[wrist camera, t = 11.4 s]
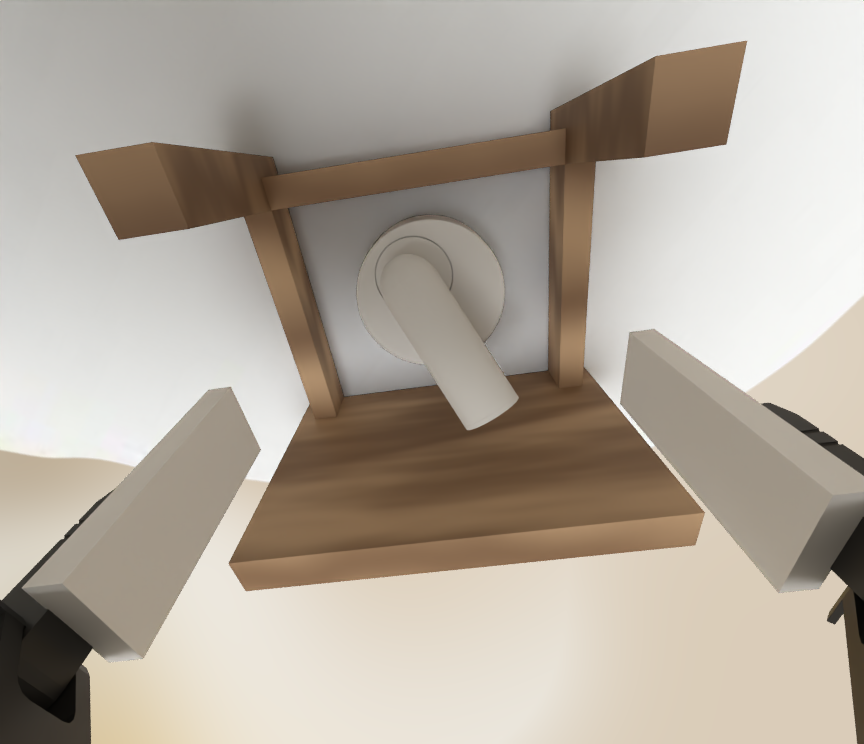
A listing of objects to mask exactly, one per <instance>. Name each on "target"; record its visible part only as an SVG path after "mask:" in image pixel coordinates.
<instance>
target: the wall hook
mask: <svg viewBox="0 0 864 744" xmlns="http://www.w3.org/2000/svg"><path fill="white" fill-rule="evenodd" d="M356 295H357V305H358V310H359V313H360V316H361V319H362V321H363V323H364V326H365V327H366V329H367V331H368V332H369V334H370V335H371V336H372V338H373V339H374V340H375V341H376V342H377V343H378V344H379V345H380V346H381V347H382V348H383V349H385V350H386V351H387V352H389V353H390V354H392V355H394V356H396V357H398V358H400V359H402V360H405V361H408V362H411V363H415V364H422V365H425V366H426V367H427V369H428V371H429V372H430V374H431V375H432V377H433V378H434V380H435V381H436V383H437V385H438V386H439V388H440V389H441V391H442V392H443V394H444V395H445V397H446V399H447V400H448V402H449V403H450V405H451V406H452V408H453V409H454V411H455V413H456V414H457V416H458V417H459V419H460V420H461V422H462V423H463V425H464V427H465V428H466V430H472V429H475V428H478V427H480V426H482V425H484V424H486V423H488V422H490V421H491V420H493V419H495V418H496V417H498V416H499V415H501V414H502V413H504V412H505V411H506V410H508V409H509V408H510V407H511V406H513V405H514V404H515V403H516V402H517V400H518V398H519V397H518V395H517V394H516V392H515V391H514V389H513V388H512V386H511V385H510V383H509V382H508V380H507V378H506V377H505V375H504V374H503V372H502V371H501V369H500V368H499V366H498V364H497V363H496V361H495V360H494V358H493V357H492V355H491V354H490V352H489V350H488V349H487V347H486V346H485V344H484V342H485V341H486V340H487V339H488V338H489V336H490V335H491V334H492V332H493V331H494V329H495V327H496V326H497V323H498V321H499V319H500V316H501V313H502V310H503V306H504V299H505V285H504V278H503V274H502V270H501V267H500V265H499V262H498V260H497V258H496V256H495V255H494V253H493V252H492V250H491V249H490V247H489V246H488V245H487V244H486V243H485V242H484V240H483V239H482V238H481V237H480V236H479V235H478V234H477V233H476V232H475V231H474V230H472V229H471V228H470V227H468V226H467V225H465V224H464V223H462V222H460V221H457V220H455V219H452V218H449V217H445V216H440V215H420V216H415V217H411V218H408V219H405V220H403V221H401V222H399V223H397V224H395V225H394V226H392V227H391V228H389V229H388V230H387V231H386V232H385V233H383V234H382V235H381V236H380V238H379V239H378V240H377V241H376V243H375V244H374V245H373V247H372V248H371V249H370V251H369V252H368V254H367V255H366V257H365V259H364V261H363V263H362V266H361V268H360V271H359V275H358V280H357V290H356Z"/></svg>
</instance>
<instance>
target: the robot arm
mask: <svg viewBox="0 0 864 744" xmlns="http://www.w3.org/2000/svg"><path fill="white" fill-rule="evenodd" d="M620 404H621V405H622V406H623V408H624V409H625V410H626V411H627V412H628V414H629V415H630V416H631V417H632V418H633V420H634V421H635V422H636V423H637V424H638V426H639V427H640V428H641V429H642V430H643V432H644V433H645V434H646V435H647V436H648V438H649V439H650V440H651V441H652V442H653V444H654V445H655V446H656V447H657V448H658V449H659V451H660V452H661V453H662V454H663V455H664V457H665V458H666V459H667V460H668V461H669V463H670V464H671V465H672V466H673V467H674V469H675V470H676V471H677V472H678V473H679V475H680V476H681V477H682V478H683V479H684V480H685V482H686V483H687V484H688V485H689V487H690V488H691V489H692V490H693V491H694V493H695V494H696V495H697V496H698V497H699V498H700V500H701V501H702V502H703V503H704V504H705V506H706V507H707V508H708V509H709V510H710V512H711V513H712V514H713V515H714V516H715V518H716V519H717V520H718V521H719V522H720V524H721V525H722V526H723V527H724V528H725V530H726V531H727V532H728V533H729V534H730V536H731V537H732V538H733V539H734V540H735V541H736V543H737V544H738V545H739V546H740V547H741V549H742V550H743V551H744V552H745V553H746V555H747V556H748V557H749V558H750V559H751V561H752V562H753V563H754V564H755V565H756V567H757V568H758V569H759V570H760V571H761V572H762V574H763V575H764V576H765V577H766V579H767V580H768V581H769V582H770V583H771V584H772V586H773V587H774V588H775V589H776V591H777V592H778V593H784V592H794V591H804V590H813V589H819V588H820V586H821V585H822V583H823V582H824V580H825V579H826V577H827V576H828V574H829V572H830V571H831V570H833V571H834V572H835V573H836V574H837V575H838V576H839V577H840V578H841V579H842V580H843V581H844V582H845V583H846V584H847V585H848V586H847V588H846V589H845V591H844V592H843V593H842V595H841V596H840V598H839V599H838V601H837V602H836V603H835V605H834V606H833V608H832V609H831V611H830V612H829V615H828V618H827V621H828V622H830V623H833V624H836V622H837V621H838V620H839V618H840V617H841V615H843V614H844V619H845V628H846V638H847V648H848V658H849V667H850V677H851V686H852V697H853V705H854V715H855V724H856V725H855V726H856V735H857V744H864V458H862V457H861V456H859V455H858V454H856V453H855V452H853V451H852V450H850V449H849V448H847V447H846V446H844V445H843V444H842V445H839V444H838V441H836V440H835V439H834V438H832V437H831V436H829V435H828V434H826V433H824V432H820V431H819V428H817V427H815V426H814V425H813V424H811V423H810V422H808V421H807V420H805V419H803V418H802V417H800V416H799V415H797V414H795V413H793V412H791V411H788V410H786V409H783V408H781V407H778V406H776V405H774V404H771V403H763V404H760V403H759V402H757V401H756V400H754V399H753V398H752V397H750V396H749V395H747V394H746V393H745V392H743V391H742V390H740V389H739V388H737V387H736V386H735V385H733V384H732V383H730V382H729V381H728V380H726V379H725V378H723V377H722V376H720V375H719V374H718V373H716V372H715V371H713V370H712V369H710V368H709V367H708V366H706V365H705V364H703V363H702V362H700V361H699V360H698V359H696V358H695V357H693V356H692V355H690V354H689V353H688V352H686V351H685V350H683V349H682V348H680V347H679V346H678V345H676V344H675V343H673V342H672V341H670V340H669V339H668V338H666V337H665V336H663V335H662V334H660V333H659V332H658V331H656V330H655V329H651V330H644V331H636V332H630V333H629V341H628V348H627V356H626V363H625V371H624V378H623V386H622V393H621V401H620ZM260 450H261V449H260V447H259V445H258V443H257V441H256V439H255V437H254V434H253V432H252V430H251V428H250V426H249V424H248V422H247V420H246V418H245V416H244V414H243V411H242V409H241V407H240V405H239V403H238V401H237V399H236V397H235V395H234V393H233V391H232V389H231V387H227V388H219V389H212V390H208V391H207V392H206V393H205V394H204V395H203V396H202V397H201V399H200V400H199V401H198V402H197V403H196V404H195V405H194V406H193V407H192V408H191V409H190V410H189V411H188V412H187V413H186V414H185V415H184V417H183V418H182V419H181V420H180V421H179V422H178V423H177V424H176V425H175V426H174V427H173V428H172V429H171V430H170V431H169V432H168V433H167V435H166V436H165V437H164V438H163V439H162V440H161V441H160V442H159V443H158V444H157V445H156V446H155V447H154V448H153V449H152V450H151V451H150V453H149V454H148V455H147V456H146V457H145V458H144V459H143V460H142V461H141V462H140V463H139V464H138V465H137V466H136V467H135V468H134V469H133V471H132V472H131V473H130V474H129V475H128V476H127V477H126V478H125V479H124V480H123V481H122V482H121V483H120V484H119V485H118V486H117V487H116V488H115V489H114V490H113V491H111V492H110V493H108V494H107V495H106V496H104V497H103V498H102V499H100V500H99V501H98V502H96V503H95V504H94V505H93V506H92V507H91V509H89V511H88V512H87V513H86V514H85V515H84V516H83V517H82V518H81V519H80V520H79V524H75V525H74V526H73V527H72V528H71V529H70V530H69V531H68V532H67V534H65V538H64V539H62V540H60V541H59V542H58V543H57V544H56V545H55V546H54V547H53V548H52V549H51V550H50V551H49V552H48V553H47V554H46V555H45V556H44V557H43V558H42V560H40V562H39V563H37V565H36V566H35V567H34V568H33V569H32V570H31V571H30V572H29V573H28V574H27V575H26V576H25V577H24V578H23V579H22V580H21V581H20V582H19V583H18V584H17V585H16V586H15V587H14V588H13V589H12V590H11V592H10V593H9V594H8V595H7V596H6V597H5V598H4V599H3V600H2V601H1V600H0V744H91V726H90V725H91V724H90V723H91V720H90V676H89V673H88V671H87V668H85V667H84V666H83V665H82V663H83V662H84V660H85V659H86V657H87V656H88V654H89V653H90V651H91V650H92V649H94V650H95V651H96V652H97V653H99V654H100V655H101V656H102V657H103V658H104V659H105V660H107V661H108V662H118V661H128V660H138V659H143V658H144V656H145V655H146V653H147V651H148V649H149V648H150V646H151V644H152V642H153V640H154V639H155V637H156V635H157V633H158V632H159V630H160V628H161V626H162V624H163V623H164V621H165V619H166V617H167V615H168V614H169V612H170V610H171V608H172V607H173V605H174V603H175V601H176V599H177V598H178V596H179V594H180V592H181V591H182V589H183V587H184V585H185V584H186V582H187V580H188V578H189V576H190V575H191V573H192V571H193V569H194V567H195V566H196V564H197V562H198V560H199V559H200V557H201V555H202V553H203V552H204V550H205V548H206V546H207V544H208V543H209V541H210V539H211V537H212V536H213V534H214V532H215V530H216V528H217V527H218V525H219V523H220V521H221V520H222V518H223V516H224V514H225V513H226V510H227V509H228V507H229V505H230V504H231V502H232V500H233V498H234V497H235V495H236V493H237V491H238V489H239V487H240V486H241V484H242V482H243V481H244V479H245V477H246V475H247V473H248V472H249V470H250V468H251V466H252V465H253V463H254V461H255V459H256V457H257V456H258V454H259V452H260Z"/></svg>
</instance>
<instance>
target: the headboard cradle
mask: <svg viewBox="0 0 864 744" xmlns="http://www.w3.org/2000/svg"><path fill="white" fill-rule="evenodd" d="M746 43H747V41H742V42H736V43H730V44H725V45H719V46H713V47H707V48H701V49H695V50H689V51H684V52H678V53H672V54H666V55H660V56H655V57H653V58H651V59H649V60H648V61H646V62H644V63H642V64H640V65H638V66H636V67H634V68H632V69H630V70H628V71H626V72H625V73H623V74H621V75H619V76H617V77H615V78H613V79H611V80H609V81H607V82H605V83H603V84H602V85H600V86H598V87H596V88H594V89H592V90H590V91H588V92H586V93H584V94H582V95H580V96H579V97H577V98H575V99H573V100H571V101H569V102H567V103H565V104H563V105H561V106H559V107H557V108H556V109H554V110H552V111H550V131H546V132H540V133H534V134H528V135H522V136H515V137H509V138H503V139H497V140H491V141H485V142H478V143H472V144H466V145H460V146H454V147H448V148H442V149H435V150H429V151H423V152H417V153H411V154H405V155H399V156H392V157H386V158H380V159H374V160H368V161H362V162H356V163H349V164H343V165H337V166H331V167H325V168H319V169H313V170H306V171H300V172H294V173H288V174H282V175H278V173H277V170H276V166H275V163H274V160H273V157H268V156H260V155H252V154H244V153H236V152H227V151H219V150H211V149H203V148H195V147H187V146H179V145H171V144H163V143H155V142H151V143H145V144H139V145H133V146H127V147H121V148H115V149H110V150H104V151H98V152H92V153H86V154H80V155H75V156H76V158H77V160H78V162H79V164H80V165H81V167H82V169H83V171H84V173H85V175H86V177H87V179H88V181H89V183H90V185H91V187H92V189H93V191H94V193H95V195H96V197H97V199H98V201H99V202H100V204H101V206H102V208H103V210H104V212H105V214H106V216H107V218H108V220H109V222H110V224H111V226H112V228H113V230H114V232H115V234H116V236H117V237H118V239H119V240H121V239H127V238H133V237H140V236H146V235H152V234H159V233H165V232H172V231H178V230H184V229H190V228H195V227H199V226H204V225H208V224H213V223H217V222H222V221H226V220H231V219H235V218H240V217H244V218H245V221H246V224H247V226H248V229H249V232H250V235H251V238H252V241H253V243H254V246H255V249H256V252H257V255H258V258H259V261H260V263H261V266H262V269H263V272H264V275H265V278H266V280H267V283H268V286H269V289H270V292H271V295H272V297H273V300H274V303H275V306H276V309H277V312H278V315H279V317H280V320H281V323H282V326H283V329H284V332H285V334H286V337H287V340H288V343H289V346H290V349H291V351H292V354H293V357H294V360H295V363H296V366H297V369H298V371H299V374H300V377H301V380H302V383H303V386H304V388H305V391H306V394H307V397H308V400H309V403H310V405H309V407H308V408H307V410H306V412H305V414H304V416H303V418H302V420H301V422H300V424H299V426H298V428H297V430H296V432H295V434H294V436H293V438H292V440H291V442H290V444H289V446H288V448H287V450H286V452H285V454H284V456H283V458H282V460H281V461H280V463H279V465H278V467H277V469H276V471H275V473H274V475H273V477H272V479H271V481H270V483H269V485H268V487H267V489H266V491H265V493H264V495H263V497H262V499H261V501H260V503H259V505H258V507H257V509H256V511H255V513H254V514H253V517H252V519H251V521H250V522H249V524H248V526H247V528H246V531H245V532H244V534H243V536H242V538H241V540H240V542H239V544H238V546H237V548H236V550H235V552H234V554H233V556H232V558H231V560H230V562H229V565H230V567H231V568H232V570H233V571H234V573H235V575H236V576H237V578H238V579H239V581H240V583H241V584H242V586H243V587H244V589H245V590H246V591H252V590H262V589H272V588H282V587H291V586H301V585H311V584H321V583H330V582H340V581H350V580H360V579H368V578H369V579H370V578H379V577H388V576H399V575H409V574H418V573H428V572H438V571H448V570H458V569H466V568H477V567H487V566H497V565H506V564H516V563H526V562H536V561H546V560H555V559H565V558H575V557H584V556H594V555H604V554H613V553H624V552H633V551H642V550H653V549H663V548H673V547H682V546H692V545H695V544H696V541H697V538H698V534H699V531H700V527H701V524H702V521H703V517H704V513H705V512H704V511H703V510H702V509H701V508H700V506H699V505H698V504H697V503H696V502H695V500H694V499H693V498H692V497H691V495H690V494H689V493H688V492H687V491H686V490H685V488H684V487H683V486H682V485H681V484H680V482H679V481H678V480H677V479H676V477H675V476H674V475H673V474H672V473H671V471H670V470H669V469H668V468H667V467H666V465H665V464H664V463H663V462H662V460H661V459H660V458H659V457H658V456H657V454H656V453H655V452H654V451H653V450H652V448H651V447H650V446H649V445H648V444H647V442H646V441H645V440H644V439H643V438H642V436H641V435H640V434H639V433H638V432H637V430H636V429H635V428H634V427H633V425H632V424H631V423H630V422H629V421H628V419H627V418H626V417H625V416H624V415H623V413H622V412H621V411H620V410H619V409H618V407H617V406H616V405H615V404H614V403H613V401H612V400H611V399H610V398H609V397H608V395H607V394H606V393H605V392H604V390H603V389H602V388H601V387H600V386H599V384H598V383H597V382H596V381H595V380H594V378H593V377H592V376H591V375H590V374H589V372H588V371H587V370H586V369H585V368H584V349H585V333H586V316H587V299H588V282H589V265H590V248H591V231H592V215H593V198H594V181H595V164H596V161H607V160H619V159H630V158H642V157H649V156H656V155H662V154H669V153H675V152H681V151H688V150H694V149H700V148H707V147H713V146H719V145H726V143H727V138H728V133H729V128H730V123H731V118H732V113H733V108H734V103H735V98H736V93H737V88H738V83H739V78H740V73H741V68H742V63H743V58H744V53H745V48H746ZM544 167H550V223H549V337H548V371H543V372H535V373H527V374H519V375H512V376H505V377H506V378H507V380H508V382H509V383H510V385H511V386H512V388H513V389H514V391H515V392H516V394H517V395H518V397H519V398H518V400H517V402H516V403H515V404H514V405H513V406H511V407H510V408H509V409H508V410H506V411H505V412H504V413H502V414H501V415H499V416H498V417H496V418H495V419H493V420H491V421H490V422H488V423H486V424H484V425H482V426H480V427H478V428H475V429H472V430H466V428H465V427H464V425H463V423H462V422H461V420H460V419H459V417H458V416H457V414H456V413H455V411H454V409H453V408H452V406H451V405H450V403H449V402H448V400H447V399H446V397H445V395H444V394H443V392H442V391H441V389H440V388H439V386H438V385H434V386H426V387H418V388H411V389H403V390H395V391H387V392H380V393H372V394H364V395H356V396H349V397H344V395H343V392H342V389H341V385H340V382H339V378H338V375H337V372H336V368H335V365H334V362H333V358H332V355H331V352H330V348H329V345H328V341H327V338H326V335H325V331H324V328H323V325H322V321H321V318H320V315H319V311H318V308H317V304H316V301H315V298H314V294H313V291H312V288H311V284H310V281H309V277H308V274H307V271H306V267H305V264H304V261H303V257H302V254H301V251H300V247H299V244H298V240H297V237H296V234H295V230H294V227H293V224H292V220H291V217H290V214H289V210H288V208H290V207H296V206H303V205H309V204H315V203H322V202H328V201H334V200H341V199H347V198H353V197H360V196H366V195H372V194H379V193H385V192H391V191H398V190H404V189H410V188H417V187H423V186H430V185H436V184H442V183H449V182H455V181H461V180H468V179H474V178H480V177H487V176H493V175H499V174H506V173H512V172H518V171H525V170H531V169H537V168H544Z"/></svg>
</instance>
